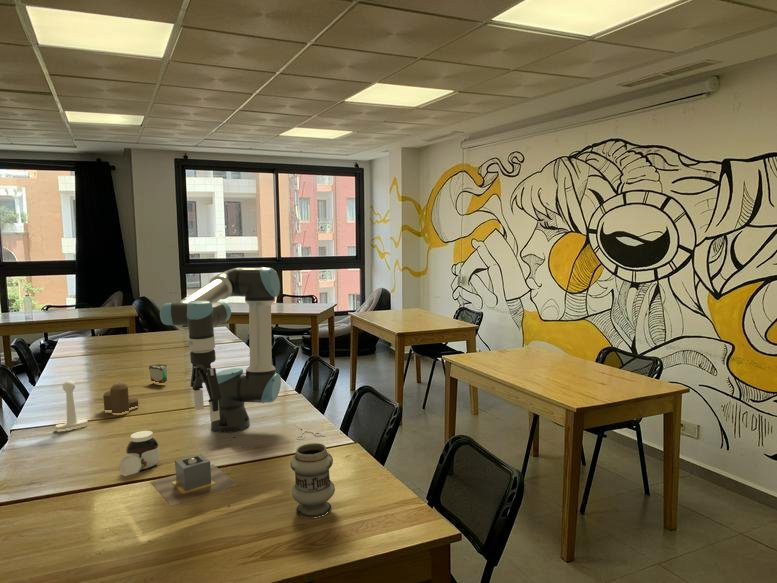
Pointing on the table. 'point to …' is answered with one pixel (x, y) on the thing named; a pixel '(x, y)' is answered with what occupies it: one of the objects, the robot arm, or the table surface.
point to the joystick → (70, 408)
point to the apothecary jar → (312, 480)
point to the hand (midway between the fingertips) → (207, 414)
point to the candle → (118, 399)
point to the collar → (193, 472)
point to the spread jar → (140, 454)
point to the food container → (158, 372)
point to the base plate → (178, 495)
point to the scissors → (308, 431)
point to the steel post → (192, 461)
